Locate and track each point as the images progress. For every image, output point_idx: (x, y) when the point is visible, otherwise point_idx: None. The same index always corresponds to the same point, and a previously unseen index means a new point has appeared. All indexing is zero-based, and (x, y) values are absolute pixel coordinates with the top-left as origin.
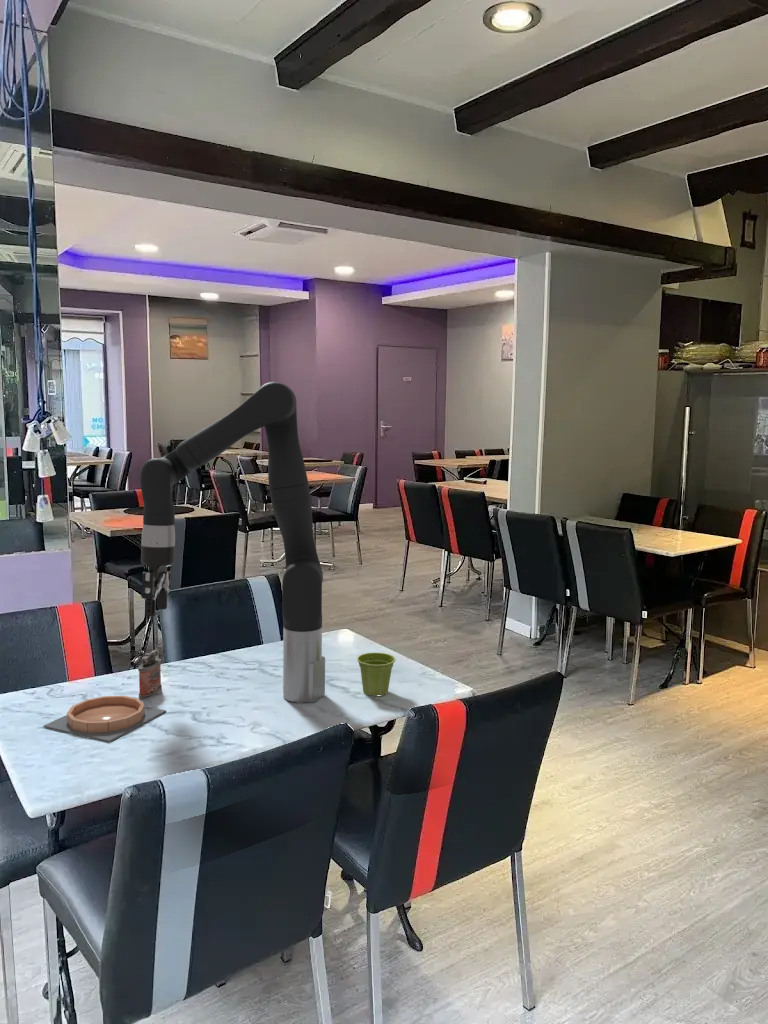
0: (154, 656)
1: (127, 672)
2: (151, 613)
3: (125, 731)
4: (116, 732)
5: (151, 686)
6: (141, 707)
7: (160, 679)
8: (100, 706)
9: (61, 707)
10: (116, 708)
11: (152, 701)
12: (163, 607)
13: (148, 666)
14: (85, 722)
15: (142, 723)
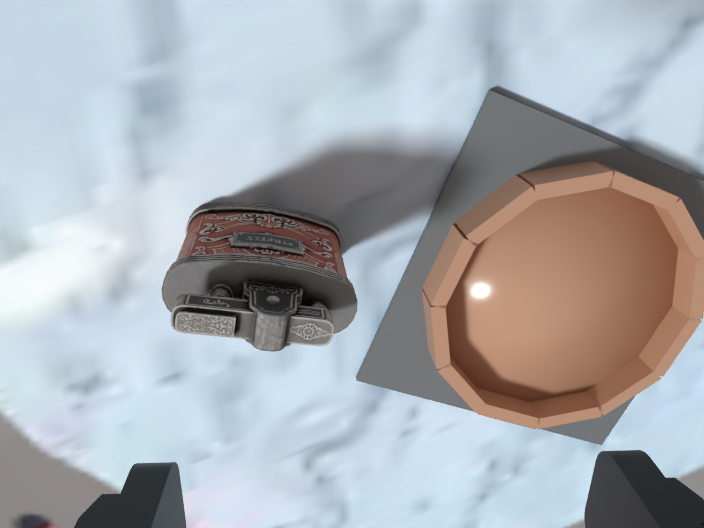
0: (231, 300)
1: (26, 415)
2: (684, 492)
3: (694, 181)
4: (697, 210)
5: (307, 232)
6: (572, 184)
7: (204, 224)
8: (467, 353)
9: (434, 466)
10: (490, 293)
11: (362, 192)
12: (175, 499)
13: (317, 288)
14: (695, 327)
15: (620, 145)
